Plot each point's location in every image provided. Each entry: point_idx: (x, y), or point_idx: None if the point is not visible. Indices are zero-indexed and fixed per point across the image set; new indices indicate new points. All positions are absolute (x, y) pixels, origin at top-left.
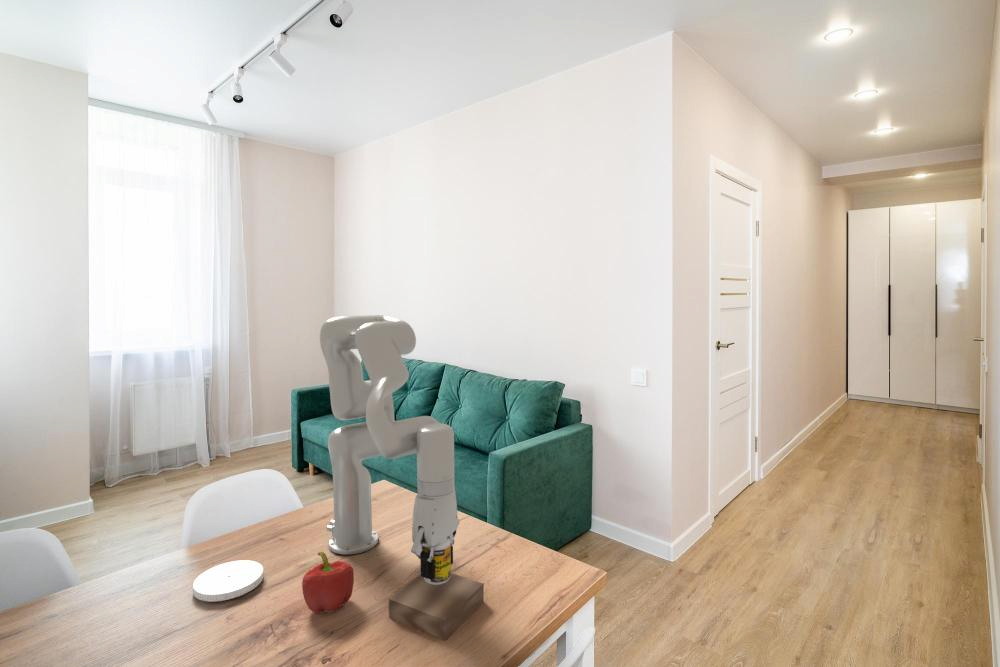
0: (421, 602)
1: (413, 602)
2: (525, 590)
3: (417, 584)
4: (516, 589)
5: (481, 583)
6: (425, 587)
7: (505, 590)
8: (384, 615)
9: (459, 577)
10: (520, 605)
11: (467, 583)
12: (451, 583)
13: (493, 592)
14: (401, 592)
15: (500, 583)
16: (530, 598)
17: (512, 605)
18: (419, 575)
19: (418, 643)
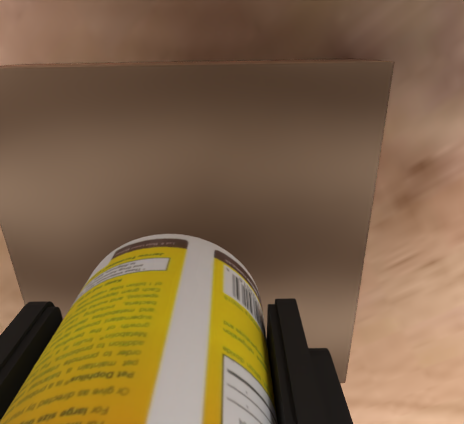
0: (66, 247)
1: (38, 215)
2: (443, 396)
3: (172, 126)
4: (439, 374)
5: (342, 376)
6: (175, 187)
7: (421, 350)
8: (15, 29)
9: (347, 279)
10: (356, 413)
11: (315, 333)
12: (279, 276)
13: (393, 325)
14: (52, 93)
15: (461, 319)
16: (403, 421)
17: (345, 397)
18: (262, 67)
19: (9, 267)
